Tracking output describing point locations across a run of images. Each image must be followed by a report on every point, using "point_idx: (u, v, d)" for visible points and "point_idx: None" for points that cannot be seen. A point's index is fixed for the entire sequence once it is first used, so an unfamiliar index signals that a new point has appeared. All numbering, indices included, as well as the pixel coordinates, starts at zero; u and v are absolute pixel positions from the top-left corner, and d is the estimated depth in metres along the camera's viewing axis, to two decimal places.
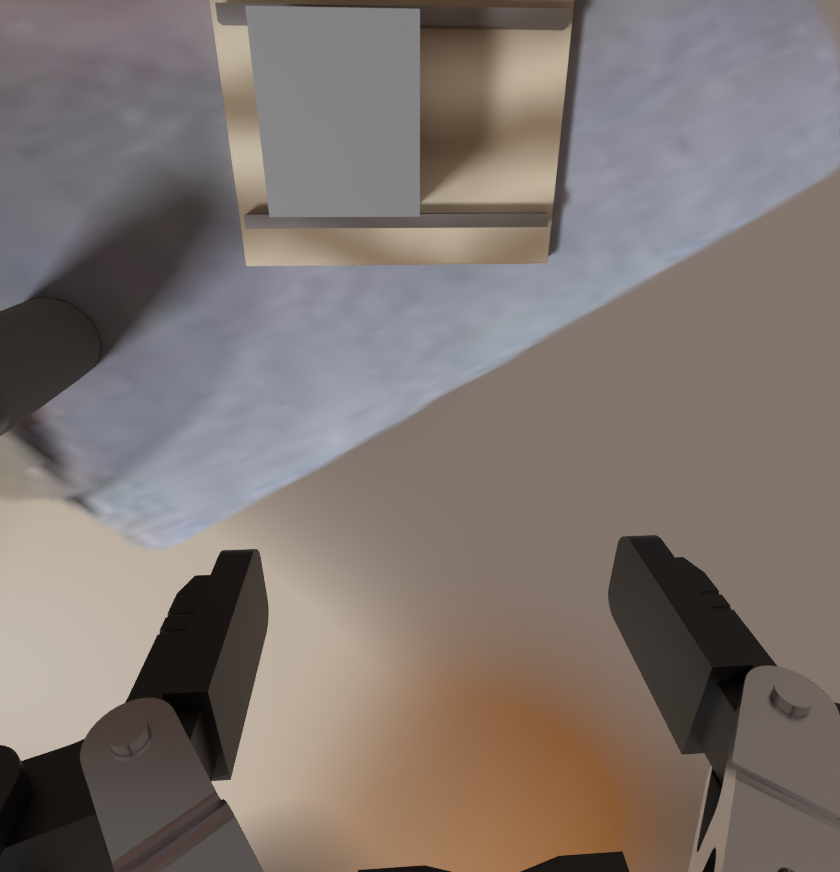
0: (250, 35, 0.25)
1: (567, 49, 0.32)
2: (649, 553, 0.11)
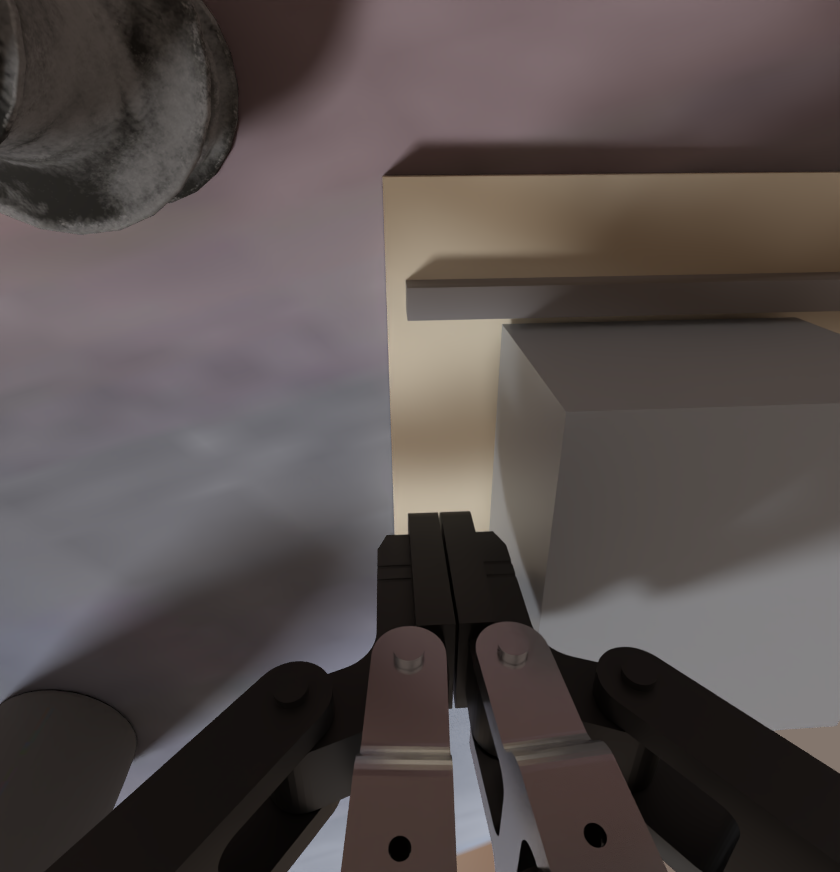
0: (564, 468, 0.10)
1: None
2: (453, 526, 0.12)
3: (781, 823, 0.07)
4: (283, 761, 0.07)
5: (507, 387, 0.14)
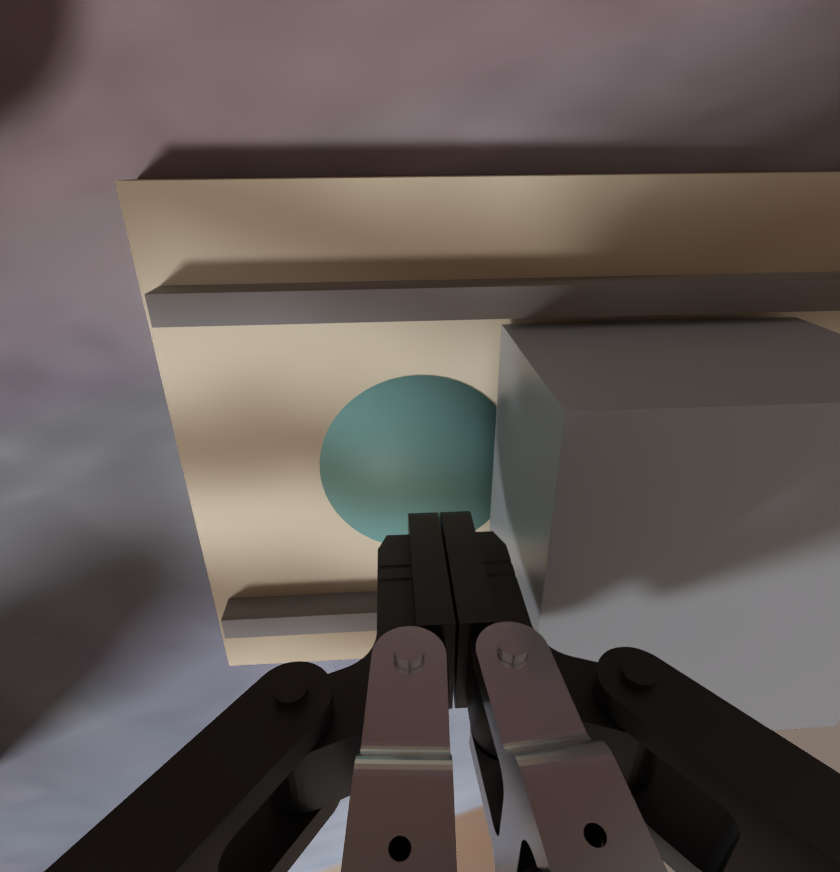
0: (563, 468, 0.10)
1: None
2: (453, 526, 0.12)
3: (781, 823, 0.07)
4: (283, 760, 0.07)
5: (507, 387, 0.14)
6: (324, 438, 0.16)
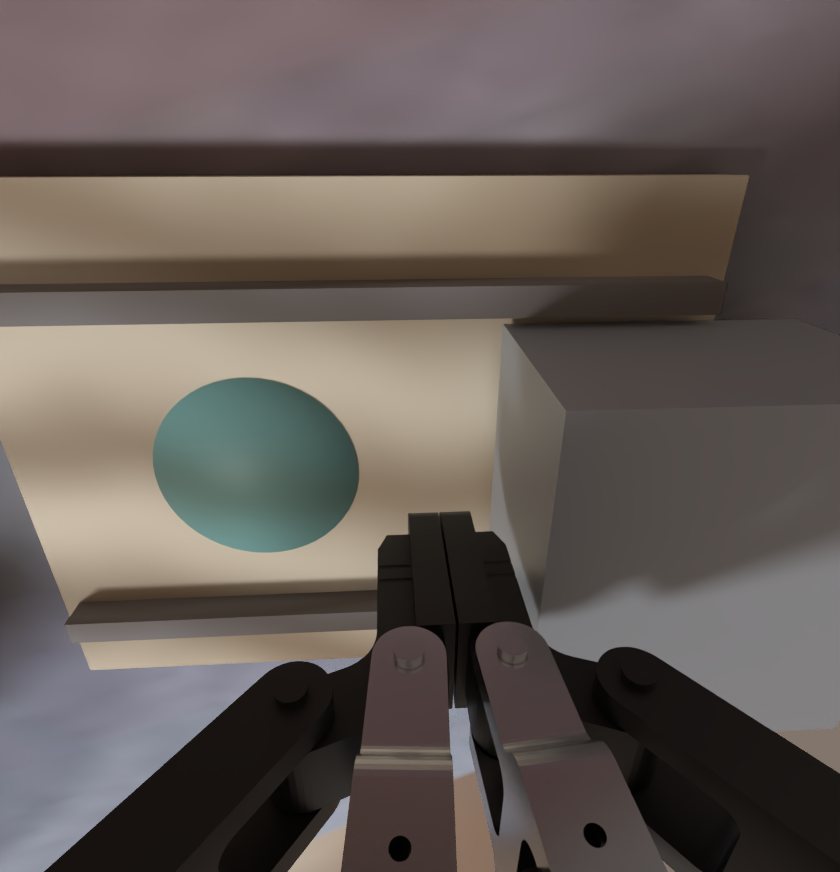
0: (564, 467, 0.10)
1: None
2: (452, 526, 0.12)
3: (781, 823, 0.07)
4: (283, 760, 0.07)
5: (508, 387, 0.14)
6: (154, 441, 0.16)
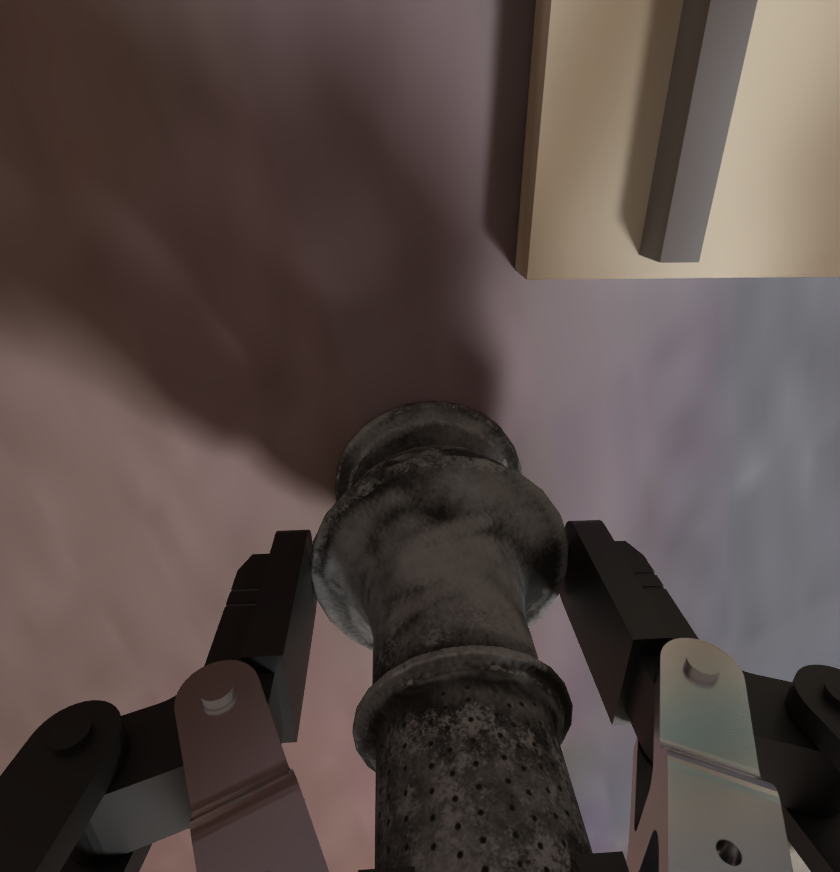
0: None
1: None
2: (590, 536, 0.12)
3: None
4: (81, 803, 0.07)
5: None
6: None
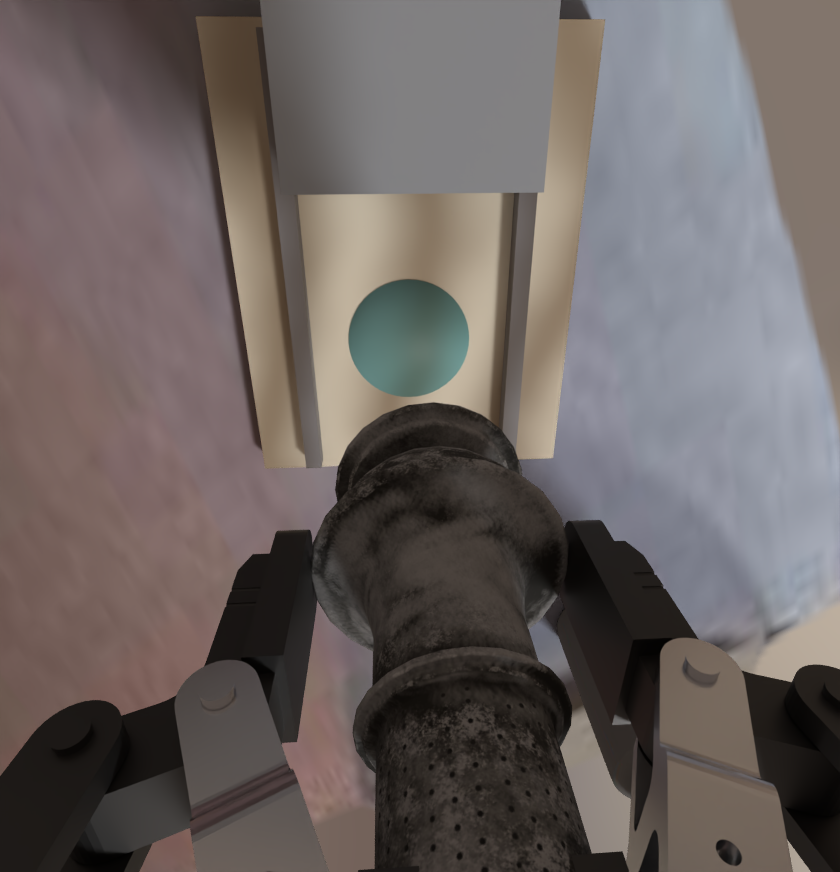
0: (314, 191, 0.18)
1: None
2: (590, 536, 0.12)
3: None
4: (82, 802, 0.07)
5: None
6: (388, 393, 0.28)
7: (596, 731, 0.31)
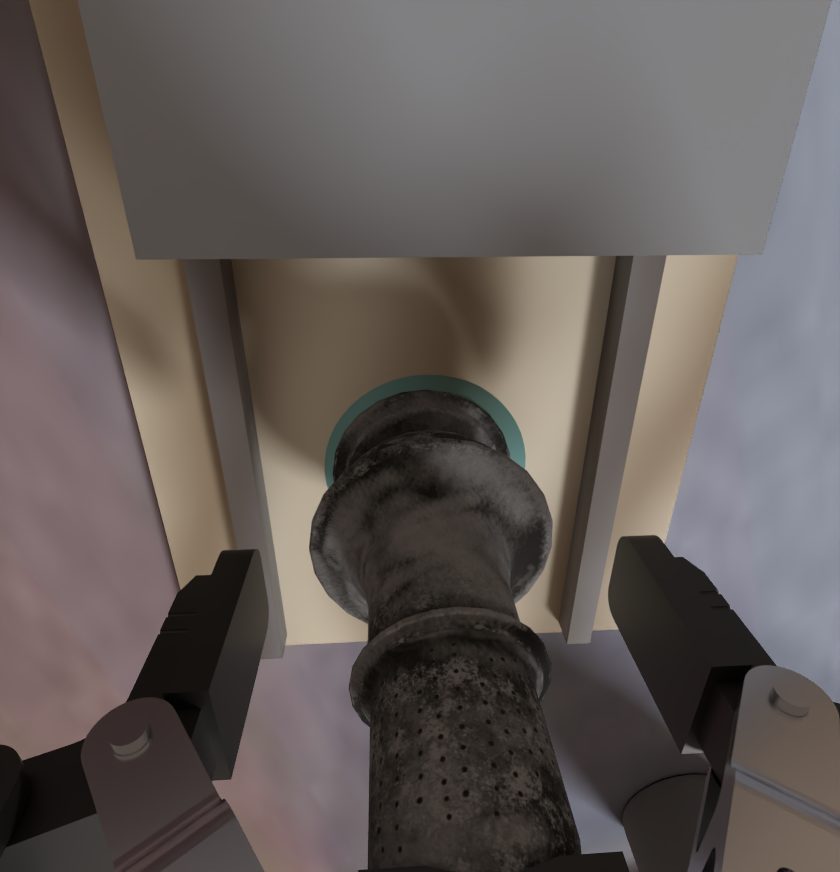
0: (216, 252, 0.08)
1: None
2: (648, 553, 0.11)
3: None
4: None
5: None
6: None
7: None
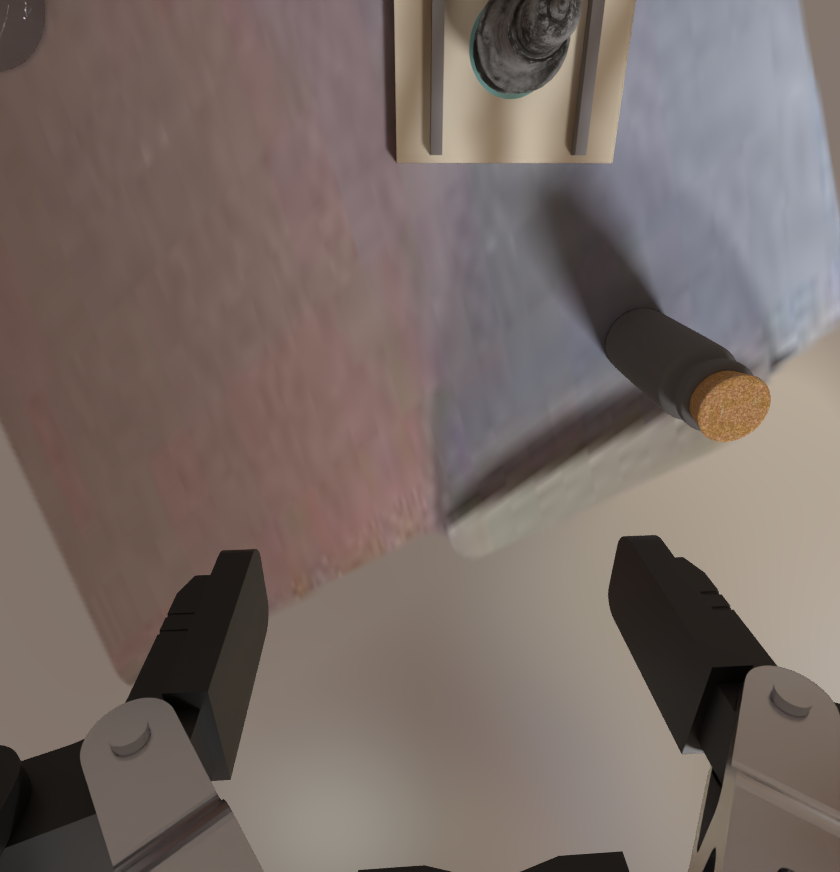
0: None
1: None
2: (649, 553, 0.11)
3: None
4: None
5: None
6: (494, 95, 0.38)
7: (643, 374, 0.41)
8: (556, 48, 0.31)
